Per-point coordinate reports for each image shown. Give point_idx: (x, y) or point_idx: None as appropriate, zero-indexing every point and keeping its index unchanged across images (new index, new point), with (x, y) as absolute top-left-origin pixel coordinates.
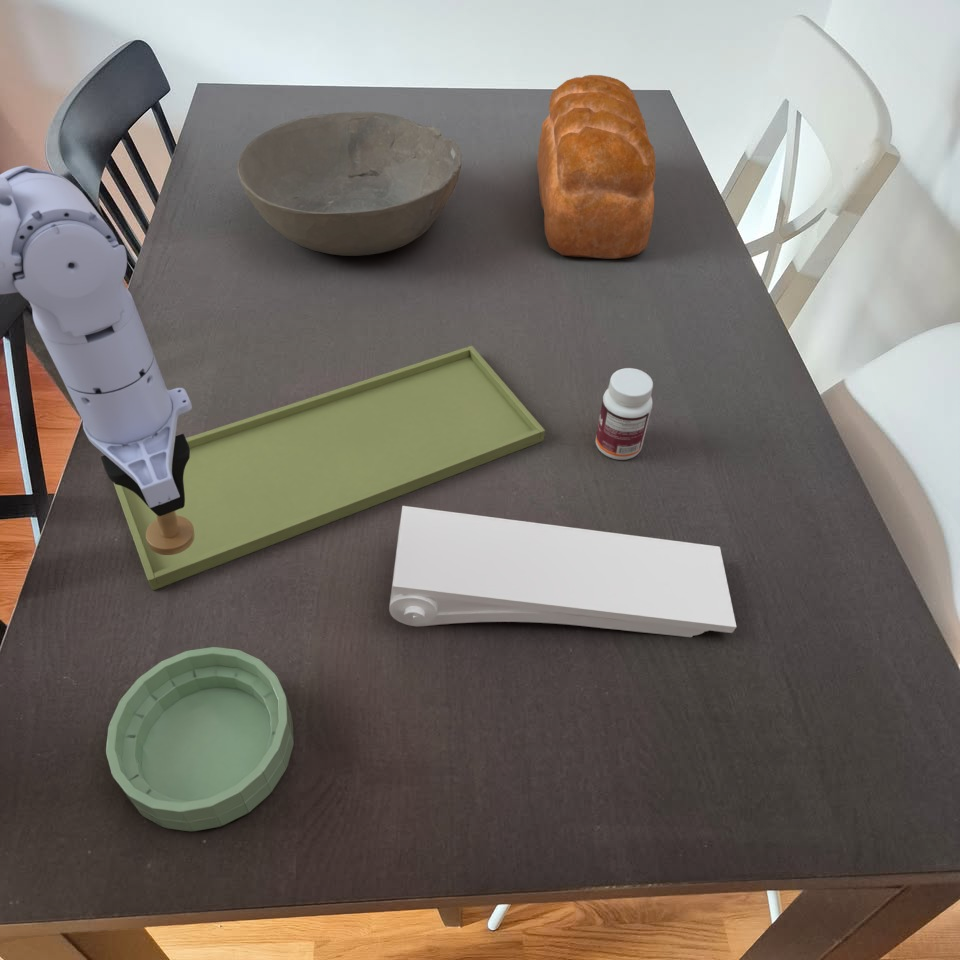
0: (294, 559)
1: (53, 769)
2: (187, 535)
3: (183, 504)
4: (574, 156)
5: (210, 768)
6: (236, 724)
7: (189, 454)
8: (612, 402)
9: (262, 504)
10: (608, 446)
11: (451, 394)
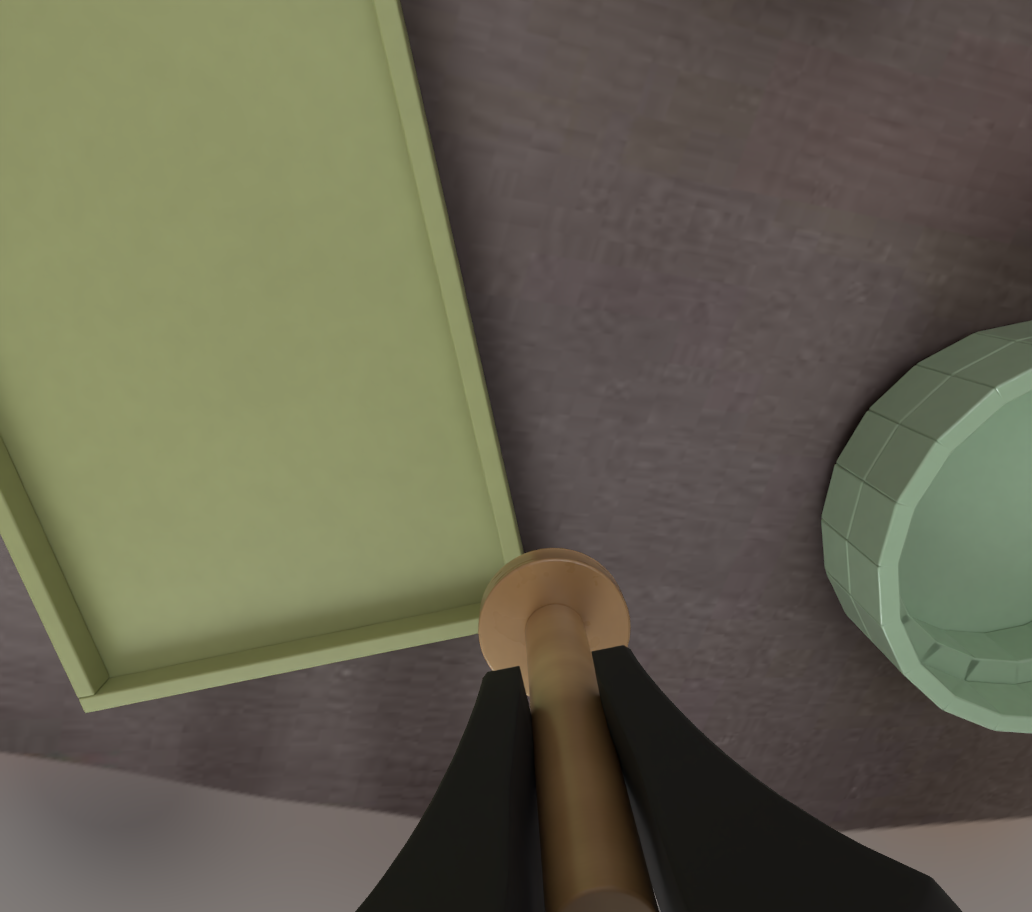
0: (535, 233)
1: (895, 766)
2: (584, 578)
3: (633, 655)
4: None
5: None
6: (984, 446)
7: (928, 893)
8: None
9: (306, 299)
10: None
11: None
